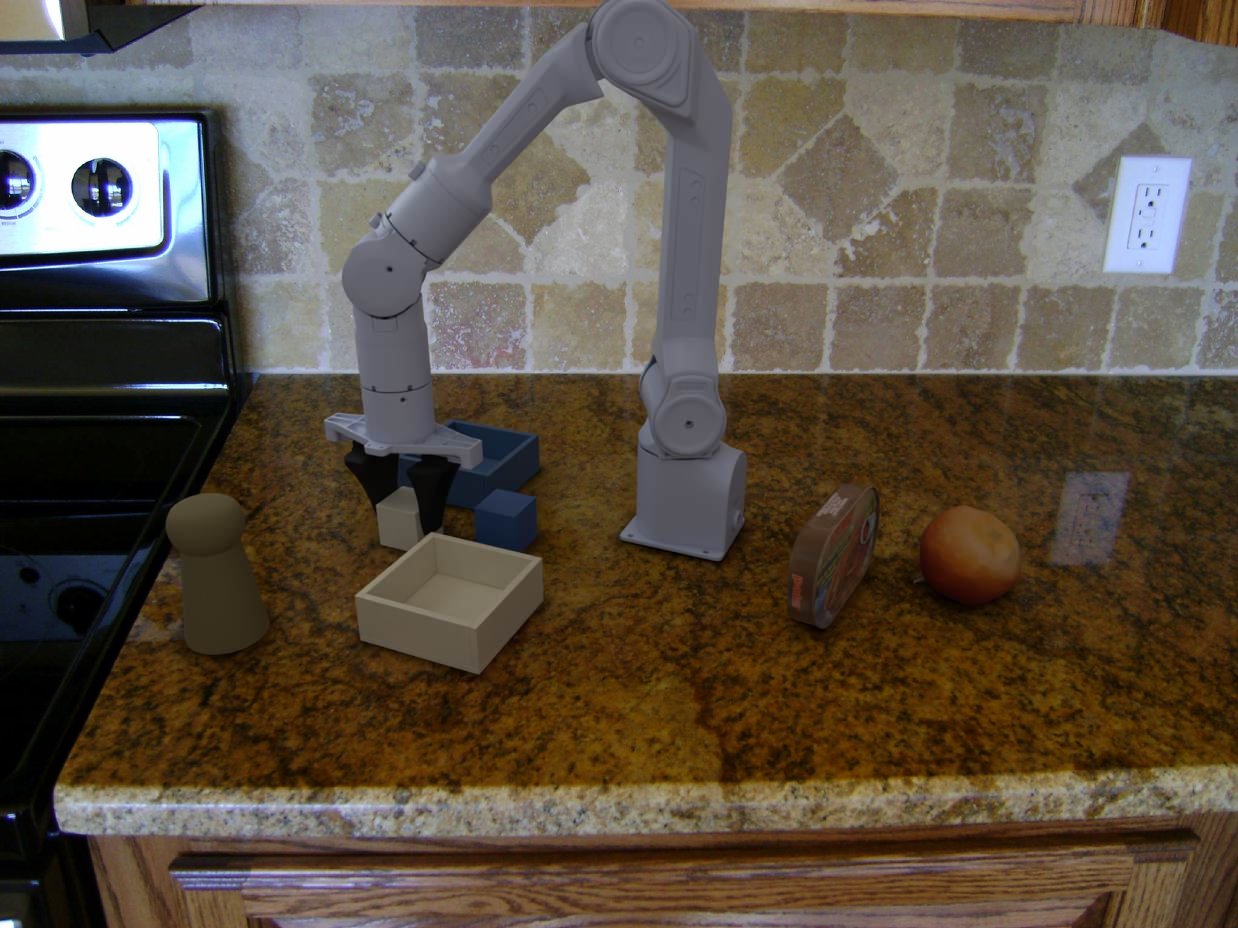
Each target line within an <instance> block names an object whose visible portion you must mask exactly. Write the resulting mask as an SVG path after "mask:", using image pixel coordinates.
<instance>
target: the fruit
mask: <svg viewBox="0 0 1238 928" xmlns="http://www.w3.org/2000/svg"><path fill="white" fill-rule="evenodd" d="M919 564H920V571H921V575H920V576H919V577H918V578H915V579H914V580H913V584H917V583H919V582H925V583H926V584H928V585H929V586H930V587H931V588H932V589H933V590H935V591H936V592H937V593H938V594H940V595H941V596H943V597H946V598H948V599H950V600H953V601H955V602H957V603H959V604H961V605H964V606H966V607H974V606H982V605H984V604H987V603H989V602H991V601H993V600H994V599H997V598H999V597H1001V596H1002V595H1005V594H1006V593H1008V591H1009V590H1011V588H1012V587H1013V586H1014V585H1015V584H1016V583H1017V582H1018V580H1019V578H1020V576H1021V573H1022V552H1021V548H1020V543H1019V541H1018V539H1017V537H1016V535H1015V533H1014V532H1013V531H1012V529H1011V528H1010V527H1009V526H1008V525H1006V523H1004V522H1003V521H1001V520H1000V519H999V518H998V517H997V516H996V515H995V514H993V513H990V512H989V511H986V510H981V509H978V508H975V507H973V506H970V505H966V504H962V505H957V506H954V507H952V508H949V509H946V510H943V511H942V512H940V513H939V514H938V515H936V517H934V518H932V520H931V521H930V522H929V524H928V525H927V526H926V527H925V528H924V530H923V532H922V534H921V539H920V544H919Z"/></svg>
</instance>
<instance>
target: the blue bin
mask: <svg viewBox="0 0 1238 928" xmlns="http://www.w3.org/2000/svg"><path fill="white" fill-rule="evenodd" d="M442 425H443V426H445V427H447V428H450V429H452V430H454V431H456V432H459V433H461V434H463V435H465V436H468V437H471V438H475V439H479V440H482V450H483V461H482V462H481V463H480V464H478V465H477V466H476V467H474V468H473V469H472V470H469V469H464V468H461V465H460V467H459V469H458V471H457V473H456V476H455V478H454V480H453V482H452V485H451V488H450V491H449V494H448V497H447V501H446V505H450V506H454V507H459V508H464V509H468V510H472V511H474V508H475V507H476V506H477V505H478V504H479V503H481V502H482V501H483V500H484V499H485V498H486V497H488V496H489V495H490V494H491V493H492V492H493V491H495V490H496V489H500V490H505V491H510V492H515V493H517V491H518V490H519V489H520V488H521V487H523V486H524V485H525V484H526V483H527V482H529V480H531V479H532V478H533V477H534V476H535V475H536V474H538V472H540V471H541V466H540V465H541V464H540V463H541V462H540V459H541V458H540V435H539V434H537V433H532V432H526V431H520V430H514V429H510V428H505V427H504V428H503V427H498V426H494V425H488V424H484V423H478V422H472V421H468V420H467V421H466V420H461V419H457V418H456V419H455V418H451V419H450V420H448V421H447V422H445V423H444V424H442ZM418 461H421V456H420V455H415V454H401V453H400V454H399V463H398V489H399V488H400V487H402V486H405V487H409V488H413V486H412V484H411V482H410V480H409V478H408V476H407V473H406V470H407V469H408V468H410V467H411V466H413V465H414V464H416V463H417V462H418Z"/></svg>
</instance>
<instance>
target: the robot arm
mask: <svg viewBox="0 0 1238 928" xmlns="http://www.w3.org/2000/svg"><path fill="white" fill-rule="evenodd" d="M603 79H605V80H606V81H607V82H608V83H609V84H611V85H612V86H613V87H615V88H616V89H619V90H620V91H622V92H623V93H625V94H627V95H629V96H630V97H632V98H634V99H636V100H637V101H640V104H641V105H642V106H643V107H644V108H645V109H646V110H647V111H648V112H649V114H650V115H651V116H652V117H653V118H654V119H655V120H656V121H657V122H658V123H659V124H660V125H661V126H662V128H663V129H664V130H665V132H666V145H665V162H664V181H663V198H662V219H661V234H660V235H661V236H660V239H661V240H660V253H659V254H660V255H659V256H660V257H659V275H658V289H657V290H658V294H657V310H656V325H655V326H656V327H655V331H654V333H653V336H652V339H651V349H650V356H649V359H648V361H647V364H646V365H645V367H643V370H642V371H641V374H640V378H639V381H638V393H639V396H640V399H641V402H642V404H643V405H644V406H645V410H646V414H647V418H646V420H645V422H644V424H643V425H642V427H641V428H640V429H639V431H638V433H637V463H636V464H637V466H636V506H635V507H636V512H635V513H636V514H635V516H633V518H632V519H631V520H630V521H629V523H628V524H627V525H626V526H625V527H624V528H623V530H622V531H621V532H620V534H619V539H620V540H621V541H623V542H628V543H632V544H637V545H641V546H645V547H650V548H655V549H659V550H664V551H669V552H673V553H677V554H682V555H686V556H691V557H695V558H700V559H704V560H709V561H714V562H721V561H722V560H723V559H724V557H725V556H726V554H727V552H728V550H730V547H731V546H732V544H733V542H734V540H735V539H736V537H737V536H738V534H739V533H740V530H741V529H742V527H743V526H744V524H745V521H746V519H745V517H744V512H745V499H746V489H747V488H746V486H747V474H748V459H747V458H748V457H747V453H746V452H745V451H743V450H741V449H738V448H735V447H732V446H730V445H728V444H726V443H725V442H724V441H722V438H723V437H724V434H725V432H726V428H727V422H728V420H727V419H728V418H727V412H726V408H725V406H724V404H723V402H722V399H721V397H720V393H719V380H720V379H719V378H720V372H719V364H718V358H717V357H718V356H717V348H716V341H715V339H716V325H717V324H716V323H717V311H718V302H719V300H718V299H719V289H720V288H719V287H720V277H721V265H722V252H723V243H724V241H723V239H724V230H725V229H724V228H725V217H726V206H727V205H726V204H727V193H728V192H727V190H728V179H729V168H730V167H729V166H730V155H731V143H732V131H733V121H734V119H733V118H734V117H733V106H732V104H731V101H730V99H729V97H728V95H727V93H726V91H725V89H724V87H723V85H722V83H721V81H720V79H719V77H718V75H717V73H716V71H715V69H714V67H713V66H712V63H711V62H710V60H709V58H708V55H707V54H706V52H705V50H704V48H703V46H702V43H701V40H700V37H699V35H698V32H697V29H696V27H695V26H694V25H693V24H692V23H690V21H688V20H687V19H686V18H685V17H684V16H683V14H681V13H680V12H679V11H678V10H676V8H674V7H673V5H671V4H670V3H669V2H668V1H666V0H603V1H601V2H600V3H599V4H598V5H597V6H596V8H595V9H594V10H593V11H592V13H591V14H590V16H589V19H588V21H587V22H585V21H580V22H579V23H578V24H577V25H576V26H575V27H573V28H572V29H571V30H569V31H568V32H567V33H566V34H564V36H562V37H561V38H560V39H559V40H558V41H557V42H556V43H555V44H553V45H552V46H551V47H550V48H549V49H547V50H546V51H545V52H544V53H543V54H542V55H541V56H540V57H539V59H538V60H537V61H536V62H535V64H534V65H533V66H532V67H531V69H530V70H529V71H528V72H527V73H526V74H525V76H524V77H522V79H521V81H519V83H518V84H517V85H516V87H515V88H514V89H513V90H512V91H511V93H510V94H509V95H508V96H507V97H506V99H504V101H503V102H502V103H501V105H500V106H499V107H498V108H497V109H496V111H495V112H494V113H493V114H492V115H491V117H490V118H489V119H488V120H487V122H485V124H484V125H483V126H482V127H481V129H480V130H479V131H478V132H477V133H476V135H475V136H474V137H473V138H472V140H471V141H470V142H469V143H468V145H466V147H465V149H463V150H462V151H461V152H458V153H437V154H434V155H433V156H432V157H431V158H430V160H429V161H427V163H425V162H423V160H417V162H416V163H414V165H413V166H412V167H411V169H410V170H409V171H408V173H407V176H408V178H409V179H411V182H409V184H408V185H407V186H406V187H405V188H404V190H403V191H402V192H401V193H400V194H399V195H398V196H397V198H396V199H395V200H394V201H393V202H392V203H391V204H390V206H389V207H388V208H387V209H386V210H385V211H384V213H383V214H382V213H381V212H380V211H376V212H375V213H374V215H372V217H371V218H370V219H369V221H368V225H369V226H370V227H371V228H372V229H373V230H370V231H369V232H367V233H365V234H364V235H363V236H362V237H361V238H360V239H359V240H358V242H357V243H356V244H355V245H353V246H352V247H351V250H350V252H349V254H348V255H347V257H346V259H345V261H344V263H343V266H342V272H341V284H342V288H343V290H344V293H345V295H346V297H347V298H348V300H349V301H350V302H351V304H352V315H353V319H354V325H355V327H354V332H353V333H354V334H353V335H354V340H355V350H356V358H357V366H358V375H359V383H360V391H361V392H360V393H361V401H362V409H363V414H352V413H344V412H336V413H334V414H333V415H331V416H328V417H327V418H326V419H324V420H323V424H324V425H323V426H324V432H325V439H326V441H328V442H332V443H333V442H334V443H337V442H339V441H341V440H342V441H346V442H351V443H352V447H351V451H349V452H348V453H345V455H344V457H343V461H344V466H345V467H347V469H348V470H349V471H350V472H351V473H352V475H354V477H355V479H356V480H357V481H358V483H360V485H361V487H362V489H363V491H364V492H365V494H366V496H367V497H368V499H369V502H370V504H371V507H372V509H373V511H374V513H375V516H376V517H377V510H376V505H377V504H378V503H380V502H381V501H382V500H384V499H385V498H386V497H388V496H389V495H391V494H392V493H393V492H395V491H396V490H398V489H399V485H398V463H399V454H400V453H401V454H415V455H420V456H421V461H418V462H417V463H416V464H414V465H413V466H411V467H410V468H408V469H407V470H406V473H407V476H408V478H409V480H410V482H411V484H412V486H413V489H414V492H415V495H416V498H417V502H418V508H419V517H420V523H421V527H422V531H423V534H424V535H428V534H429V533H431V532H434V533H435V532H436V531H437V530H438V529H440V528H441V527H442V523H443V522H444V516H445V510H446V506H447V504H446V501H447V497H448V494H449V491H450V488H451V485H452V482H453V480H454V478H455V476H456V473H457V471H458V469H459V467H460V465H461V468H464V469H469V470H472V469H473V468H474V467H476V466H477V465H478V464H480V463H481V462H482V461H483V450H482V440H479V439H475V438H471V437H468V436H465V435H463V434H461V433H459V432H456V431H454V430H452V429H450V428H447V427H445V426H443V425H444V424H441V423H438V422H436V417H435V415H436V414H435V403H434V392H433V390H434V389H433V380H432V369H431V357H430V346H429V345H430V344H429V333H428V324H427V323H426V320H425V314H424V302H423V293H422V287H423V284H424V282H425V280H426V277H427V275H428V273H430V272H431V271H435V270H438V269H440V268H441V267H442V266H443V265H444V263H446V261H447V260H448V259H449V258H450V257H451V256H452V255H453V254H454V252H456V250H457V249H458V248H459V247H460V246H461V245H462V244H463V243H464V242H465V240H466V239H467V238H469V236H470V235H471V234H472V233H473V232H474V231H475V229H477V227H478V226H479V225H480V224H481V223H482V222H483V221H484V220H485V219H486V218H487V216H488V215H489V214H490V213H491V212H492V211H493V207H494V203H493V191H492V190H493V189H492V185H493V183H494V182H495V181H496V180H497V179H498V178H499V177H500V175H502V174H503V172H505V170H506V169H508V167H509V166H510V165H512V164H513V162H514V161H515V160H516V159H517V158H518V157H519V156H520V155H521V154H522V153H523V152H524V150H526V149H527V147H529V145H530V144H531V143H532V142H533V141H534V140H535V139H537V137H538V136H539V135H540V134H541V133H542V132H543V131H544V130H545V129H546V128H547V127H548V126H549V125H550V124H551V122H553V120H554V119H556V118H557V116H559V114H560V113H562V112H563V110H565V109H566V108H568V107H572V106H576V105H579V104H583V103H587V102H591V101H595V100H598V99H601V98H604V97H605V93H604V91H603V90H602V87H601V86H600V84H599V81H602V80H603Z"/></svg>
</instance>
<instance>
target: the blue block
mask: <svg viewBox="0 0 1238 928" xmlns="http://www.w3.org/2000/svg"><path fill="white" fill-rule="evenodd" d="M537 507H538V505H537V496H533V495H528V494H523V493H519V492H510V491H505V490H500V489H496V490H495V491H493V492H492V493H491V494H490V495H489V496H488V497H486V498H485V499H484V500H483V501H482V502H481V503H479V504H478V505H477V506H476V507H475V508H474V510H473V513H474V514H473V515H474V529H475V530H474V532H475V542H476V543H481V544H485V545H489V546H493V547H498V548H502V549H506V550H510V551H515V552H519V553H523V552H524V551H525V549H526V548H527V547H528V546H530V544H531V543H532V542H533V541H534V540H535V539H537V537H538V511H537V510H538V509H537Z"/></svg>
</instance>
